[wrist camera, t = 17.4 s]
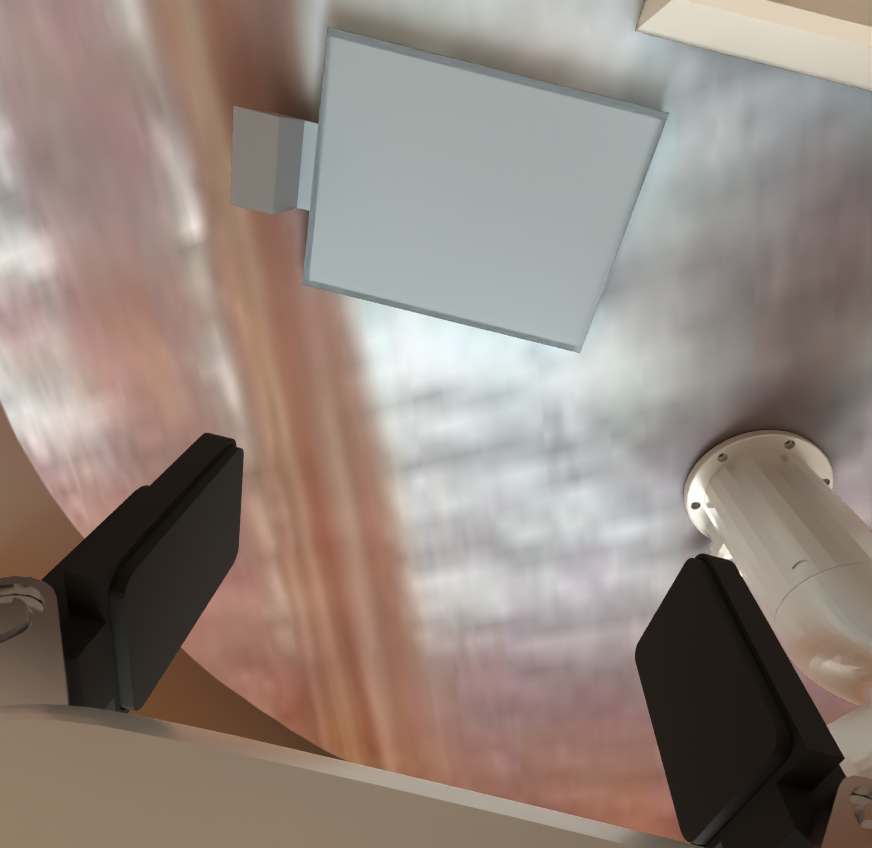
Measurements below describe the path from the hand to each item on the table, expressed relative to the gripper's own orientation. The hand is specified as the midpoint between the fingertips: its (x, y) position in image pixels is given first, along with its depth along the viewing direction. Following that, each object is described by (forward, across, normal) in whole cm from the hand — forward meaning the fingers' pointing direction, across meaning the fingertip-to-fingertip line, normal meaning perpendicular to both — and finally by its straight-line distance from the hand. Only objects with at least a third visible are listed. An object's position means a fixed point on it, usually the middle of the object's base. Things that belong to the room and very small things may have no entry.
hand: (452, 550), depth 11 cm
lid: (+36, +4, -3) cm, 37 cm away
